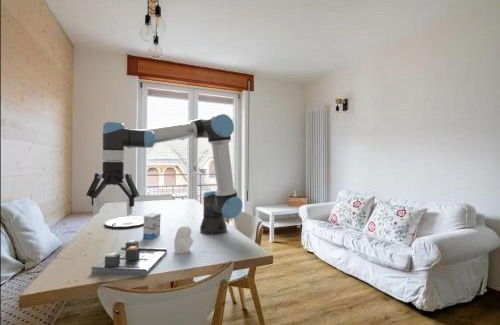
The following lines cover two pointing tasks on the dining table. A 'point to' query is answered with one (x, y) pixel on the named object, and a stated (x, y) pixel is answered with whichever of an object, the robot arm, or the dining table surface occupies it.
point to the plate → (119, 221)
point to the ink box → (151, 226)
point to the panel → (133, 263)
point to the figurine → (183, 239)
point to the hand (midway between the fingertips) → (112, 214)
